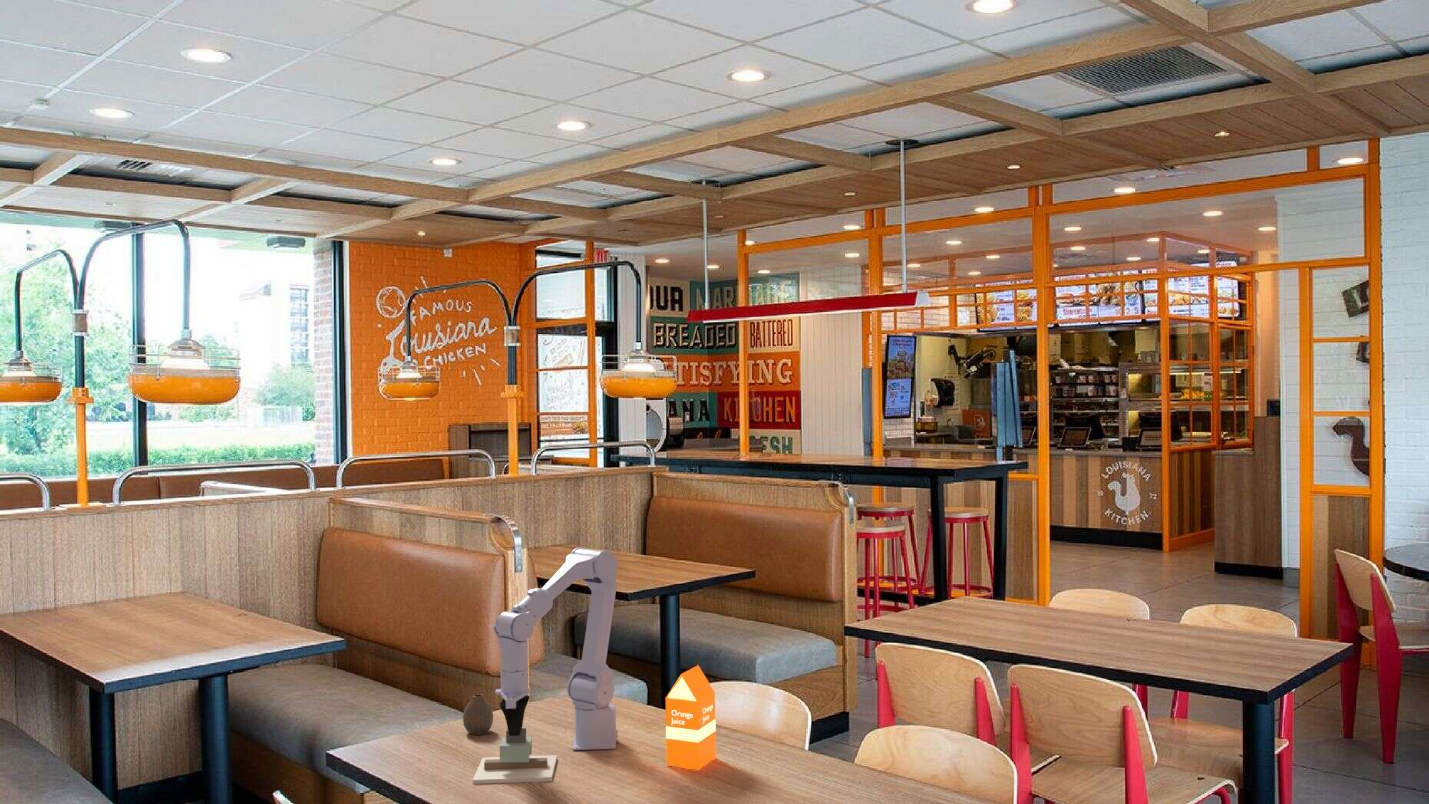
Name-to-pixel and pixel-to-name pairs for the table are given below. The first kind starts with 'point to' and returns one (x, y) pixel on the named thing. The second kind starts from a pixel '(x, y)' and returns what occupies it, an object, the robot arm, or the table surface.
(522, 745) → the sage slotted block
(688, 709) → the orange juice
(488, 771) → the board
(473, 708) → the vase
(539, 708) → the table surface
